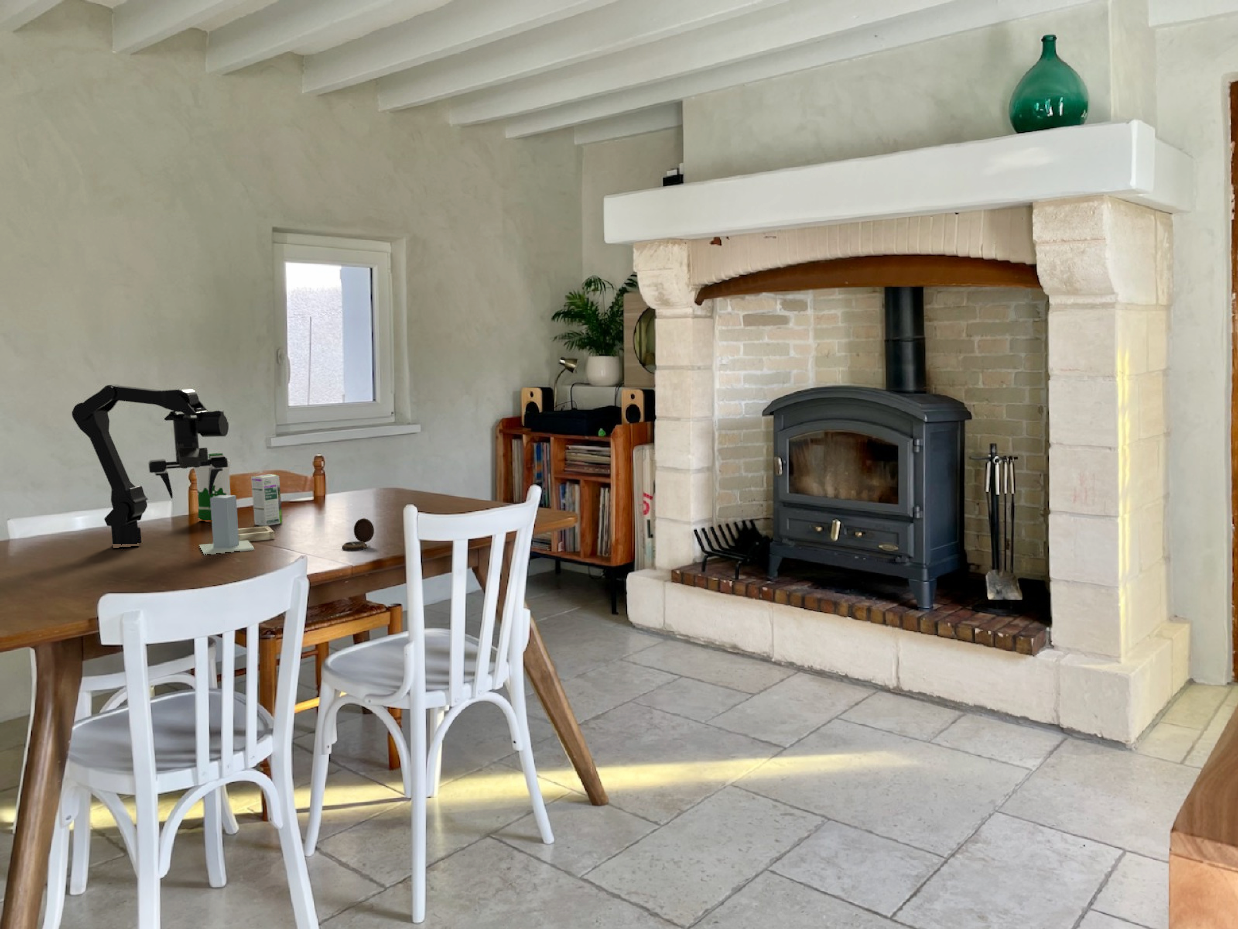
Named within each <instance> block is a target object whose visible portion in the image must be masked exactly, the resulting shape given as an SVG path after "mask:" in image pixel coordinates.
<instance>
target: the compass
mask: <svg viewBox="0 0 1238 929" xmlns="http://www.w3.org/2000/svg"><path fill="white" fill-rule="evenodd" d="M353 533H354V537H355V539H357V541H348V542H345V543H344V544H343V545H342V546H341V550H343V549H344V550H343V551H349V550H351V551H360V550H359V549H361V550H364V549H363V548H365V549H366V548H371V546H370V545H368V544H367V543H368V542H370V541H371V540H372V539H373V537H374V534H375V528H374V524H373V522H372V521H371V520H369V519H368V518H364V517H363V518H359V519H358V520H357V521H356V522H355V524H354V526H353Z"/></svg>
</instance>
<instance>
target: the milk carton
mask: <svg viewBox="0 0 1238 929" xmlns="http://www.w3.org/2000/svg"><path fill="white" fill-rule="evenodd" d="M219 455H223V456H224V453H222V452H221V453H220V452H217V453H208V459H210V456H219ZM227 461H228V467H224V468H222V469H223V471H219V472H218V474H217V476H216V478H215V481H214V484H213V488H212V492H211V495H209V492H208V480H209V468H211V467H210V466H200V467H198V468H195V467H193V469H194V474H195V476H196V490H197V504H198V505H197V509H198V511H197V519H198V518H200V519H202V520H212V518H211V503H210V498H212V497H215V496H219V495H231V485H230V484H231V483H230V469H231V460H229V459H227Z"/></svg>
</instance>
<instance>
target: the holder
mask: <svg viewBox="0 0 1238 929" xmlns="http://www.w3.org/2000/svg"><path fill="white" fill-rule="evenodd" d="M238 534H239V541H243V540H248V541H249V542H256V541H267V540H275V531H274V530H273V529H272V528H271V527H270V526H254V527H245V528H244V527H243V528H238Z"/></svg>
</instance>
